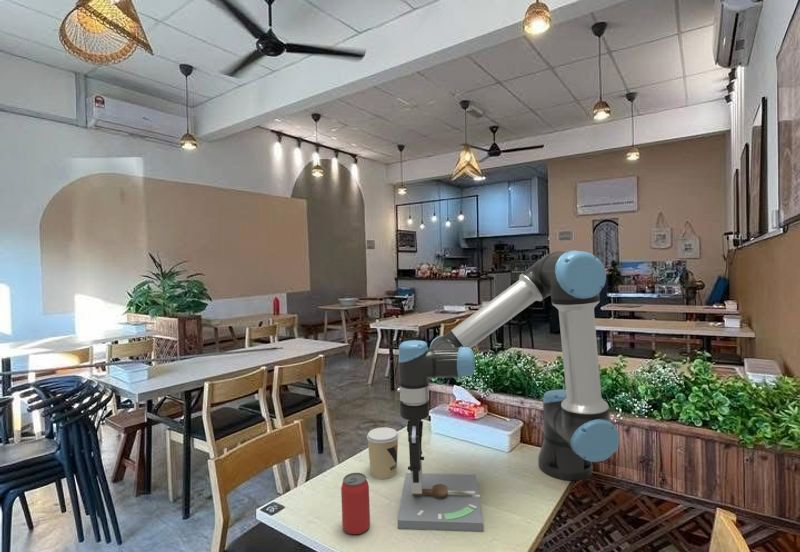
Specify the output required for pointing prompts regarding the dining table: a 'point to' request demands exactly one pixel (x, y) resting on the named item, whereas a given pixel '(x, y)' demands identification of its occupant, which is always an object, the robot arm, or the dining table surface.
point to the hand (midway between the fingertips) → (417, 489)
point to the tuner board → (441, 505)
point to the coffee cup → (383, 452)
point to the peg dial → (442, 491)
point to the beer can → (355, 503)
